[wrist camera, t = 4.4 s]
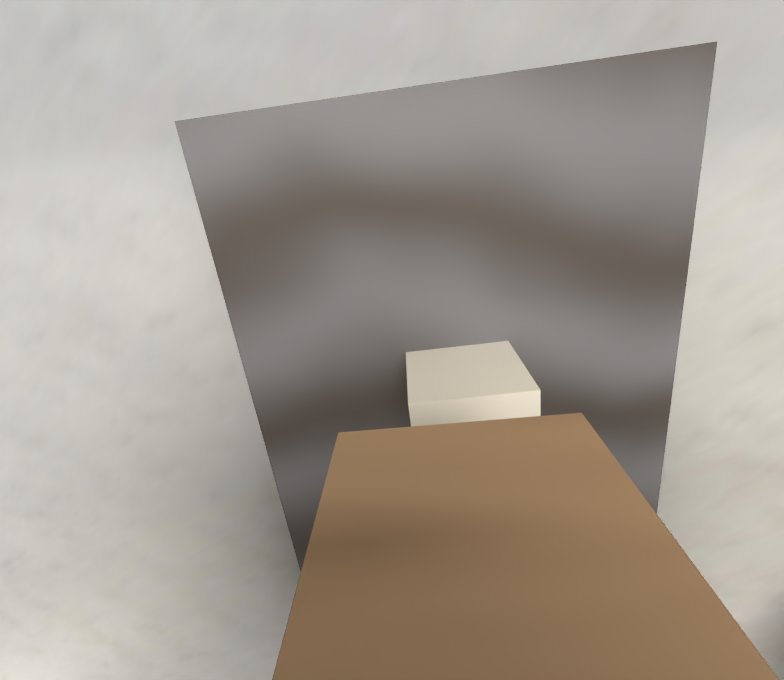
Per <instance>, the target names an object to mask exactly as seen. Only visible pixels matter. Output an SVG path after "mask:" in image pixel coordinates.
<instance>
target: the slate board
mask: <svg viewBox="0 0 784 680" xmlns="http://www.w3.org/2000/svg"><path fill="white" fill-rule="evenodd" d="M716 47H717V42H711V43H705V44H698V45H691V46H684V47H677V48H670V49H664V50H657V51H650V52H643V53H636V54H630V55H623V56H616V57H609V58H602V59H596V60H589V61H582V62H575V63H568V64H562V65H555V66H548V67H541V68H534V69H528V70H521V71H514V72H507V73H500V74H494V75H487V76H480V77H473V78H466V79H459V80H453V81H446V82H439V83H432V84H425V85H419V86H412V87H405V88H398V89H391V90H385V91H378V92H371V93H364V94H357V95H351V96H344V97H337V98H330V99H323V100H317V101H310V102H303V103H296V104H289V105H283V106H276V107H269V108H262V109H255V110H248V111H242V112H235V113H228V114H221V115H214V116H208V117H201V118H194V119H187V120H180V121H175V124H176V128H177V131H178V135H179V139H180V142H181V146H182V149H183V153H184V156H185V160H186V163H187V167H188V171H189V174H190V178H191V181H192V185H193V188H194V192H195V196H196V199H197V203H198V206H199V210H200V213H201V217H202V221H203V224H204V228H205V231H206V235H207V238H208V242H209V246H210V249H211V253H212V256H213V260H214V263H215V267H216V271H217V274H218V278H219V281H220V285H221V288H222V292H223V296H224V299H225V303H226V306H227V310H228V313H229V317H230V321H231V324H232V328H233V331H234V335H235V338H236V342H237V346H238V349H239V353H240V356H241V360H242V363H243V367H244V371H245V374H246V378H247V381H248V385H249V388H250V392H251V395H252V399H253V403H254V406H255V410H256V413H257V417H258V420H259V424H260V428H261V431H262V435H263V438H264V442H265V445H266V449H267V453H268V456H269V460H270V463H271V467H272V470H273V474H274V478H275V481H276V485H277V488H278V492H279V495H280V499H281V503H282V506H283V510H284V513H285V517H286V520H287V524H288V528H289V531H290V535H291V538H292V542H293V545H294V549H295V553H296V556H297V560H298V563H299V567H300V570H302V566H303V563H304V559H305V555H306V551H307V548H308V544H309V540H310V536H311V533H312V529H313V525H314V521H315V518H316V514H317V510H318V507H319V503H320V499H321V495H322V492H323V488H324V484H325V480H326V477H327V473H328V469H329V465H330V462H331V458H332V454H333V450H334V447H335V443H336V439H337V435H338V432H351V431H363V430H375V429H387V428H400V427H411V422H410V415H409V407H408V391H407V371H406V352H412V351H421V350H430V349H439V348H448V347H457V346H466V345H475V344H484V343H493V342H502V341H509V343H510V344H511V346H512V347H513V349H514V350H515V352H516V353H517V355H518V356H519V358H520V359H521V361H522V362H523V364H524V366H525V367H526V369H527V370H528V372H529V373H530V375H531V376H532V378H533V379H534V381H535V382H536V384H537V385H538V387H539V388H540V390H541V416H547V415H559V414H571V413H582V414H583V415H584V416H585V418H586V419H587V421H588V422H589V423H590V425H591V426H592V427H593V429H594V430H595V431H596V433H597V434H598V435H599V437H600V438H601V439H602V441H603V442H604V444H605V445H606V446H607V448H608V449H609V450H610V452H611V453H612V454H613V456H614V457H615V458H616V460H617V461H618V462H619V464H620V465H621V467H622V468H623V469H624V471H625V472H626V473H627V475H628V476H629V477H630V479H631V480H632V481H633V483H634V484H635V485H636V487H637V488H638V490H639V491H640V492H641V494H642V495H643V496H644V498H645V499H646V500H647V502H648V503H649V504H650V506H651V507H652V508H653V510H654V511H655V513H656V514H657V506H658V498H659V490H660V483H661V475H662V467H663V459H664V452H665V444H666V436H667V428H668V420H669V413H670V405H671V397H672V389H673V381H674V374H675V366H676V358H677V350H678V343H679V335H680V327H681V319H682V311H683V304H684V296H685V288H686V280H687V273H688V265H689V257H690V249H691V241H692V234H693V226H694V218H695V210H696V202H697V195H698V187H699V179H700V171H701V164H702V156H703V148H704V140H705V132H706V125H707V117H708V109H709V101H710V93H711V86H712V78H713V70H714V62H715V55H716Z"/></svg>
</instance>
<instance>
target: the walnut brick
mask: <svg viewBox="0 0 784 680" xmlns="http://www.w3.org/2000/svg"><path fill="white" fill-rule="evenodd" d="M272 680H779V679H778V678H777V676H776V675H775V673H774V672H773V671H772V669H771V668H770V667H769V665H768V664H767V663H766V661H765V660H764V659H763V657H762V656H761V655H760V653H759V652H758V650H757V649H756V648H755V646H754V645H753V644H752V642H751V641H750V640H749V638H748V637H747V636H746V634H745V633H744V632H743V630H742V629H741V627H740V626H739V625H738V623H737V622H736V621H735V619H734V618H733V617H732V615H731V614H730V613H729V611H728V610H727V609H726V607H725V606H724V604H723V603H722V602H721V600H720V599H719V598H718V596H717V595H716V594H715V592H714V591H713V590H712V588H711V587H710V586H709V584H708V583H707V581H706V580H705V579H704V577H703V576H702V575H701V573H700V572H699V571H698V569H697V568H696V567H695V565H694V564H693V563H692V561H691V560H690V558H689V557H688V556H687V554H686V553H685V552H684V550H683V549H682V548H681V546H680V545H679V544H678V542H677V541H676V540H675V538H674V537H673V536H672V534H671V533H670V531H669V530H668V529H667V527H666V526H665V525H664V523H663V522H662V521H661V519H660V518H659V517H658V515H657V514H656V513H655V511H654V510H653V508H652V507H651V506H650V504H649V503H648V502H647V500H646V499H645V498H644V496H643V495H642V494H641V492H640V491H639V490H638V488H637V487H636V485H635V484H634V483H633V481H632V480H631V479H630V477H629V476H628V475H627V473H626V472H625V471H624V469H623V468H622V467H621V465H620V464H619V462H618V461H617V460H616V458H615V457H614V456H613V454H612V453H611V452H610V450H609V449H608V448H607V446H606V445H605V444H604V442H603V441H602V439H601V438H600V437H599V435H598V434H597V433H596V431H595V430H594V429H593V427H592V426H591V425H590V423H589V422H588V421H587V419H586V418H585V416H584V415H583V414H582V413H571V414H559V415H547V416H534V417H522V418H510V419H498V420H485V421H473V422H461V423H449V424H436V425H424V426H412V427H400V428H387V429H375V430H363V431H351V432H338V435H337V439H336V443H335V447H334V450H333V454H332V458H331V462H330V465H329V469H328V473H327V477H326V480H325V484H324V488H323V492H322V495H321V499H320V503H319V507H318V510H317V514H316V518H315V521H314V525H313V529H312V533H311V536H310V540H309V544H308V548H307V551H306V555H305V559H304V563H303V566H302V570H301V574H300V578H299V581H298V585H297V589H296V593H295V596H294V600H293V604H292V608H291V611H290V615H289V619H288V623H287V626H286V630H285V634H284V638H283V641H282V645H281V649H280V653H279V656H278V660H277V664H276V668H275V671H274V675H273V679H272Z"/></svg>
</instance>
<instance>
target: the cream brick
mask: <svg viewBox="0 0 784 680" xmlns="http://www.w3.org/2000/svg"><path fill="white" fill-rule="evenodd" d="M406 371H407V391H408V407H409V415H410V422H411V427H412V426H424V425H436V424H449V423H461V422H473V421H485V420H498V419H510V418H522V417H534V416H541V390H540V388H539V387H538V385H537V384H536V382H535V381H534V379H533V378H532V376H531V375H530V373H529V372H528V370H527V369H526V367H525V366H524V364H523V362H522V361H521V359H520V358H519V356H518V355H517V353H516V352H515V350H514V349H513V347H512V346H511V344H510V343H509V341H502V342H493V343H484V344H475V345H466V346H457V347H448V348H439V349H430V350H421V351H412V352H406Z"/></svg>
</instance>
